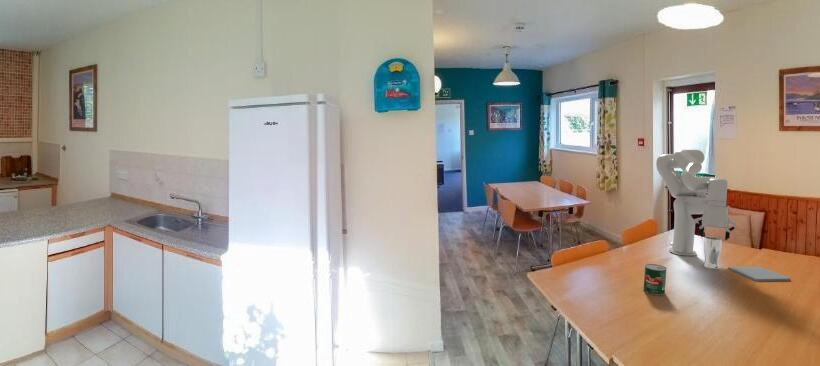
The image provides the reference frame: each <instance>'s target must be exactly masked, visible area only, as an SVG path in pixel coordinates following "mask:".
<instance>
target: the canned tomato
mask: <svg viewBox="0 0 820 366" xmlns="http://www.w3.org/2000/svg"><path fill="white" fill-rule="evenodd" d="M666 280H667V267H666V266H664V265H661V264H656V263H648V264H645V265H644V279H643V289H644V290H643V292H644V291H646V292H648V293H651V294H650V295H652V294H655V295H654V296H663V295H665V294H666V292H665V291H666ZM646 292H645V293H646ZM648 293H647V294H648Z"/></svg>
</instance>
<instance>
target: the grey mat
mask: <svg viewBox="0 0 820 366" xmlns="http://www.w3.org/2000/svg"><path fill="white" fill-rule="evenodd" d="M727 270H729V271H730V272H733V273H734V274H735V273H736V274H738V275H740V276H742V277H745V278H746V279H747V278H748V279H749V280H752V281H754V282H776V281H777V282H783V281H785V282H787V281H791V279H792V278H790V277H787V276H785V275H783V274H779V273H778V272H775V271H773V270H769V269H767V268H764V267H763V266H728V267H727Z"/></svg>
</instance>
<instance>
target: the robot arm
mask: <svg viewBox="0 0 820 366" xmlns="http://www.w3.org/2000/svg"><path fill="white" fill-rule="evenodd" d="M704 162H705V154H704V152H703V151H701V149H680V150H676V151H675V152H674V153H664V154H662V155H659V156H658V157H657V158H656V163H655V164H656V170H657V172H658V174H659V176H660V177H661V178H662V179H663V181H664V182H665V184H666V187H667V189H668V192H669V194H670V195H671V197H673V198H675V200H674V201H673V205H672V206H673V211H674V212H673V213H674V221H673V222H674V223H673V225H674V227H673V238H672V242H670V244H669V245H670V246H671V247H670V248H669V250H668V251H669V253H671V252H672V254H674V255H677V256H686V257H693V256H696V255H697V252H696V250H694V242H695V234H696V233H695V232H696V226H697V228H698V229H699V236H700V237H701V238H703V237H704V236H705V227H711V228H719V229H724V230H725V232H724V233H725V238H724V240H725V241H728V240H729V239H730V236H731V232H732V231H733V230H735V229H736V227H737V226H738V223H737V222H736V221H733V220H732V219H729V217H730V216H729V209H728V207H727V198H728V196H727V195H728V179H726V178H720V177H716V176H696V175H697V174H699V173H700V172H701V171H702V168H703V167H702V164H703V163H704ZM675 169H681V170H682V173H681V174H680V173H679V172H678V171H676V170H675ZM692 215H702V216H701V217H697V218H693V216H692ZM699 221H701V223H699ZM729 224H731V225H732V226H731V227H729Z"/></svg>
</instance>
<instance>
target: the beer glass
mask: <svg viewBox="0 0 820 366" xmlns="http://www.w3.org/2000/svg"><path fill="white" fill-rule="evenodd" d="M722 243H723V242H722V238H721V237H718V236H710V235H709V236H705V237H704V243H703V253H704V262H703V267H704V268H705V269H710V270H719V259H720V255H721V252H722V246H723V245H722Z"/></svg>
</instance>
